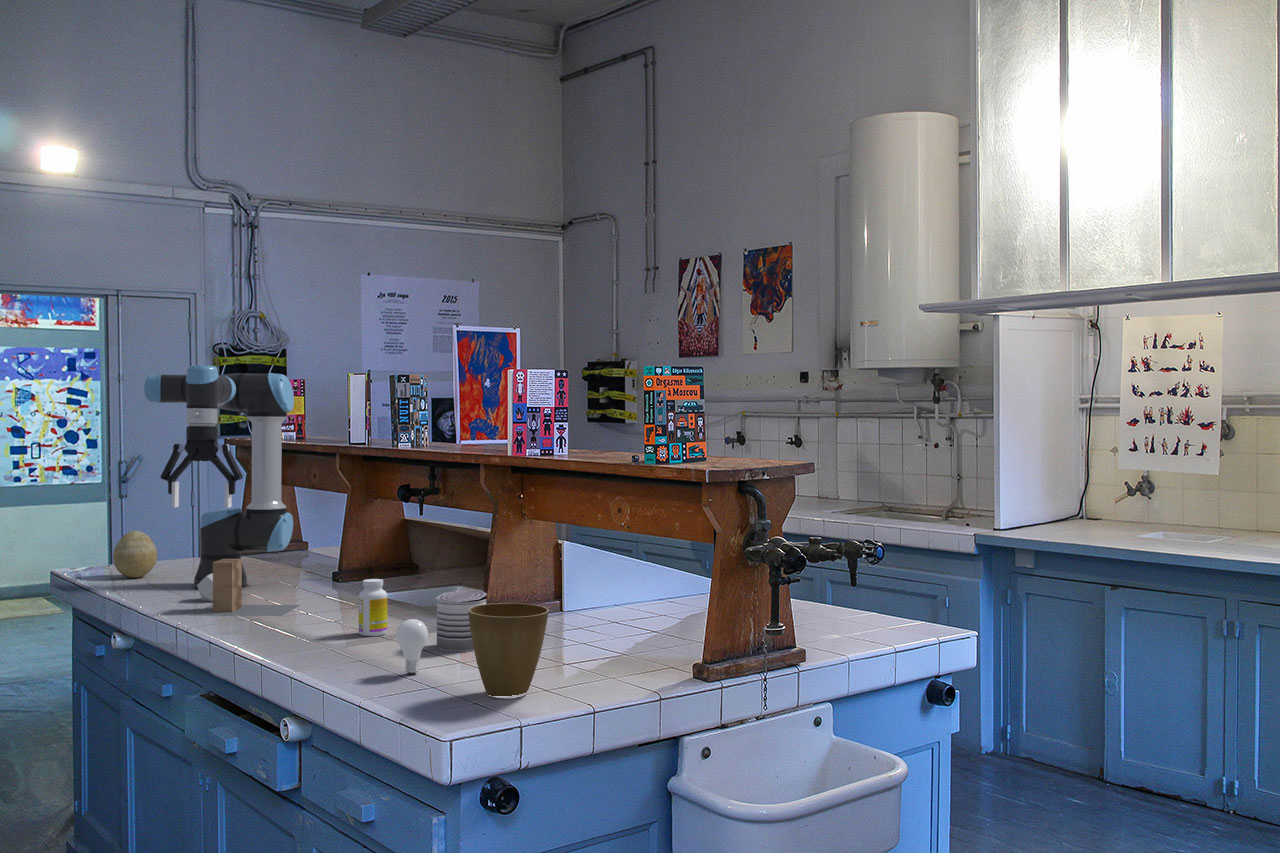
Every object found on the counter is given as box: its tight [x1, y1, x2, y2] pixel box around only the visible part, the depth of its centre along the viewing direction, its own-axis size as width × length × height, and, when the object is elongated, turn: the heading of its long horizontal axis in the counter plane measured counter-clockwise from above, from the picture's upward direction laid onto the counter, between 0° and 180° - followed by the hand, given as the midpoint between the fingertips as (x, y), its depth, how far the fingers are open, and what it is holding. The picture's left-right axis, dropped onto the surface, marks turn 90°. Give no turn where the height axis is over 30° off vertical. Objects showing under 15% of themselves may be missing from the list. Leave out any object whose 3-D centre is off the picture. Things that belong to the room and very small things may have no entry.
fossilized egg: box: [112, 530, 158, 579], centre depth 344 cm, size 13×13×15 cm
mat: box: [189, 604, 301, 617], centre depth 285 cm, size 16×24×1 cm, turn 91°
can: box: [434, 589, 489, 653], centre depth 243 cm, size 11×11×12 cm
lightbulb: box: [395, 618, 429, 675], centre depth 217 cm, size 6×6×11 cm
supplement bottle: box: [358, 578, 388, 637], centre depth 257 cm, size 7×7×13 cm
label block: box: [212, 558, 243, 612], centre depth 285 cm, size 7×5×13 cm
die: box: [197, 573, 213, 603], centre depth 300 cm, size 8×9×10 cm
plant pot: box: [468, 602, 550, 696], centre depth 201 cm, size 15×15×16 cm
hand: (201, 507), depth 279 cm, fingers open, 13 cm apart
